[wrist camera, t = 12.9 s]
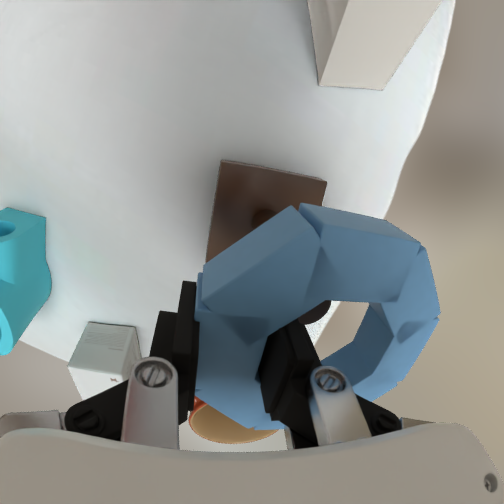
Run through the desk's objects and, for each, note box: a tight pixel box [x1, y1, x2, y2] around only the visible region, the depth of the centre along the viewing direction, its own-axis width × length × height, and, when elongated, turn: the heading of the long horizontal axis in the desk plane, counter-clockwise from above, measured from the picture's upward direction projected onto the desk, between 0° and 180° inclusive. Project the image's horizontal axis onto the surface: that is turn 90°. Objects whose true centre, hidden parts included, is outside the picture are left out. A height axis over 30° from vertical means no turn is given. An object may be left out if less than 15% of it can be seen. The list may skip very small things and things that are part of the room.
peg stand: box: [206, 160, 331, 325], centre depth 19 cm, size 9×9×14 cm
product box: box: [67, 323, 141, 401], centre depth 26 cm, size 6×6×7 cm
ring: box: [194, 203, 441, 430], centre depth 11 cm, size 10×10×2 cm
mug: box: [189, 396, 279, 444], centre depth 26 cm, size 12×9×10 cm
